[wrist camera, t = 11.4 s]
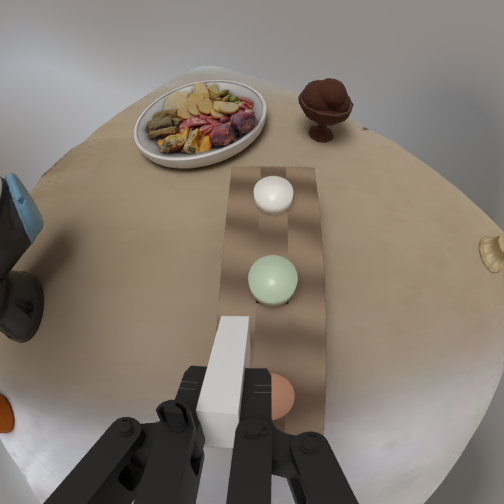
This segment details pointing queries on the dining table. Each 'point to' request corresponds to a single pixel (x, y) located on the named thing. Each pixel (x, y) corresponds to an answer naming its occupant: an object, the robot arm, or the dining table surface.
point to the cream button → (273, 195)
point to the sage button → (272, 280)
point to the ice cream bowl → (325, 106)
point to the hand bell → (492, 252)
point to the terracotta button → (281, 396)
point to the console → (301, 303)
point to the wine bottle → (5, 416)
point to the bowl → (200, 124)
